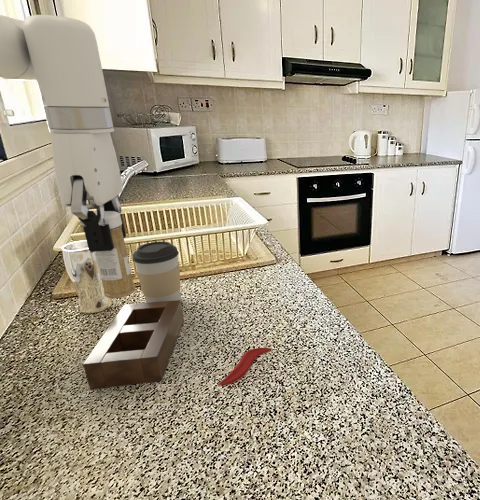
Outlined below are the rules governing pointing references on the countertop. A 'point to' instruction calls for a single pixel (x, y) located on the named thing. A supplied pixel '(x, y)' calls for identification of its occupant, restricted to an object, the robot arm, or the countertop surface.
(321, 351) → the countertop surface
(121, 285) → the sprinkles bottle
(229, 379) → the cayenne pepper
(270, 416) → the countertop surface
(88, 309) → the beer glass
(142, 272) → the coffee cup
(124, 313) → the holder
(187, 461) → the countertop surface
